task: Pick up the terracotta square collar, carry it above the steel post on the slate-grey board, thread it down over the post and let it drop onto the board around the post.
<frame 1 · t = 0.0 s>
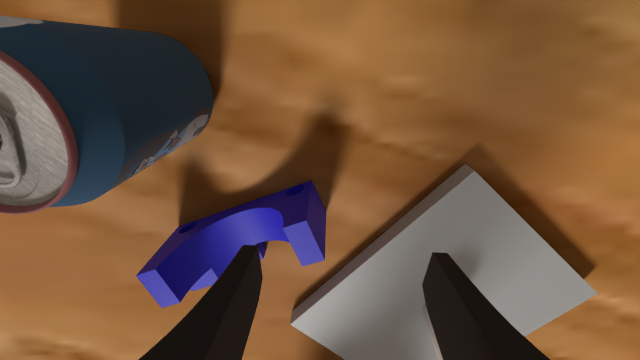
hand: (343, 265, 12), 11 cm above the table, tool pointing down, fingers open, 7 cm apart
soda can: (171, 89, 20), on the table
post board: (430, 296, 27), on the table
cable clip: (255, 224, 25), on the table
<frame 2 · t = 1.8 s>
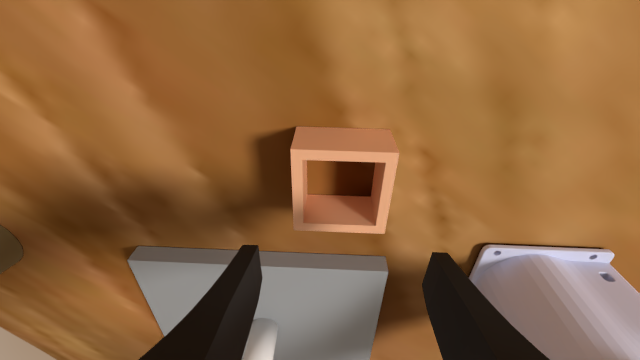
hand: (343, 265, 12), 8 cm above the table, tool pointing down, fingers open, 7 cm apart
post board: (268, 310, 28), on the table
collar: (340, 168, 19), on the table
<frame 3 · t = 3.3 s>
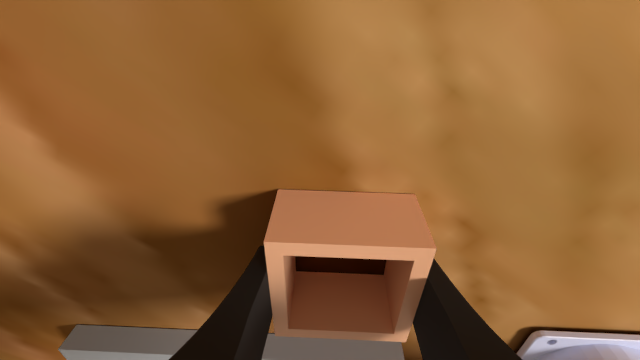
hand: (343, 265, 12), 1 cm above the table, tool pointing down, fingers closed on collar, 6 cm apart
collar: (342, 241, 14), on the table, touching gripper
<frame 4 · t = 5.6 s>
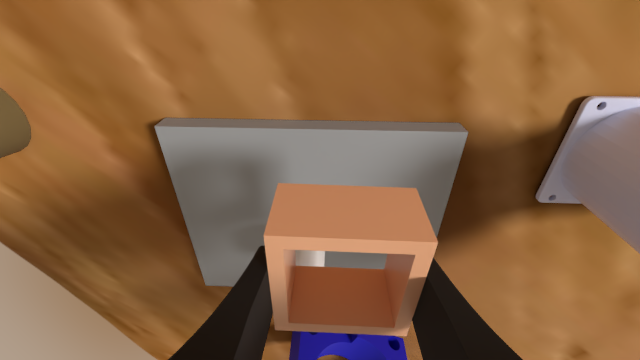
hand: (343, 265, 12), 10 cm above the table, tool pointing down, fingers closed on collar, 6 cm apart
post board: (311, 212, 24), on the table
cable clip: (347, 331, 34), on the table
collar: (342, 235, 14), point 9 cm above the table, touching gripper
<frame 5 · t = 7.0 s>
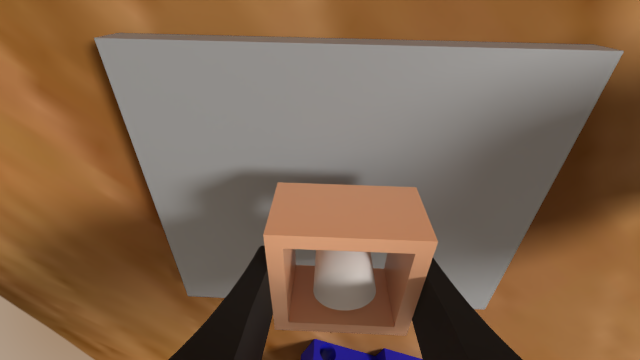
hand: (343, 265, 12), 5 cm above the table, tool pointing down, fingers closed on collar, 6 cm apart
post board: (340, 193, 17), on the table
cable clip: (371, 355, 27), on the table
collar: (342, 234, 14), point 4 cm above the table, touching gripper
when the fingers open (5 cm above the table, at t = 8.0 s): collar drops 2 cm, resting on post board.
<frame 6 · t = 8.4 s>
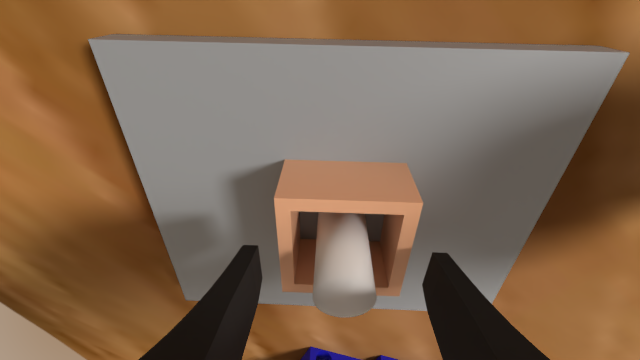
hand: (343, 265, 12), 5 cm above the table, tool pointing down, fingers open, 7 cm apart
post board: (340, 196, 17), on the table
collar: (342, 208, 15), point 1 cm above the table, touching post board
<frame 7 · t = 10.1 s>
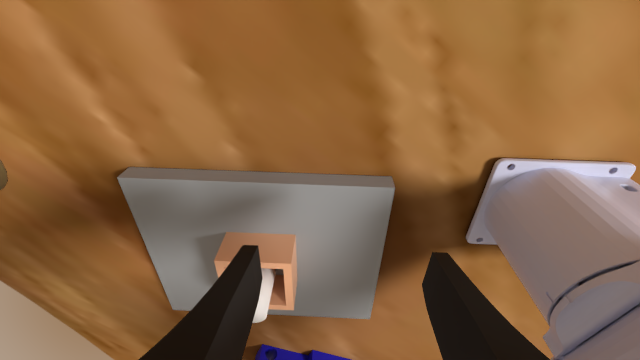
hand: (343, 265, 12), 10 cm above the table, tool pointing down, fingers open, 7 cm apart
post board: (267, 247, 27), on the table
cable clip: (306, 355, 38), on the table
collar: (264, 257, 25), point 1 cm above the table, touching post board
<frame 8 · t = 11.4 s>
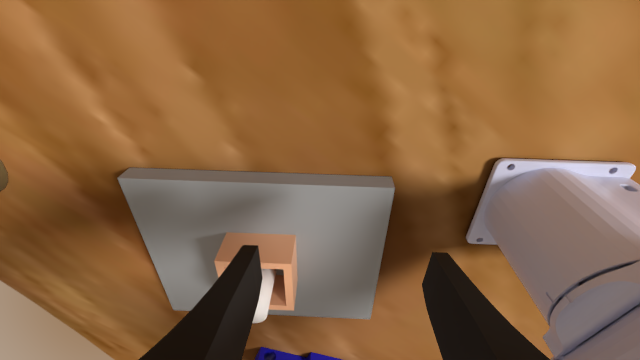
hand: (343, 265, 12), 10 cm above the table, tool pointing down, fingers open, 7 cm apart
post board: (267, 247, 27), on the table
cable clip: (305, 357, 38), on the table
collar: (264, 257, 25), point 1 cm above the table, touching post board
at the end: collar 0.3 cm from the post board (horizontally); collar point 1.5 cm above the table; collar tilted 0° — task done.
